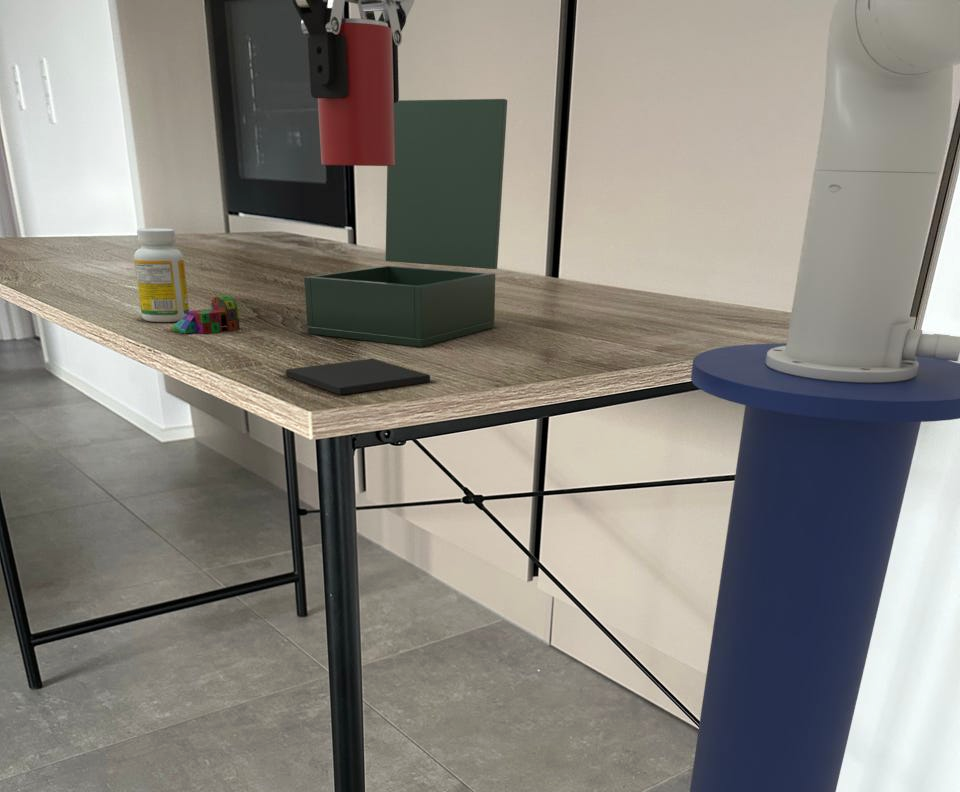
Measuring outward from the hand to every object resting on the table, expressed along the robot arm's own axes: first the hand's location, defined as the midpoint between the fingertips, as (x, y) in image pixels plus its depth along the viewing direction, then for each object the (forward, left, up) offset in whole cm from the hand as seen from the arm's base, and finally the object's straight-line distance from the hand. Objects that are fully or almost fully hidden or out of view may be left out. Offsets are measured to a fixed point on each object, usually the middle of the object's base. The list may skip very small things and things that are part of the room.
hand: (356, 97), depth 75 cm
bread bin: (+10, -21, -21) cm, 31 cm away
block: (+28, -9, -21) cm, 36 cm away
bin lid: (+10, -29, -7) cm, 31 cm away
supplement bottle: (+37, -12, -21) cm, 44 cm away
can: (0, 0, -5) cm, 5 cm away
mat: (-1, +3, -21) cm, 22 cm away
